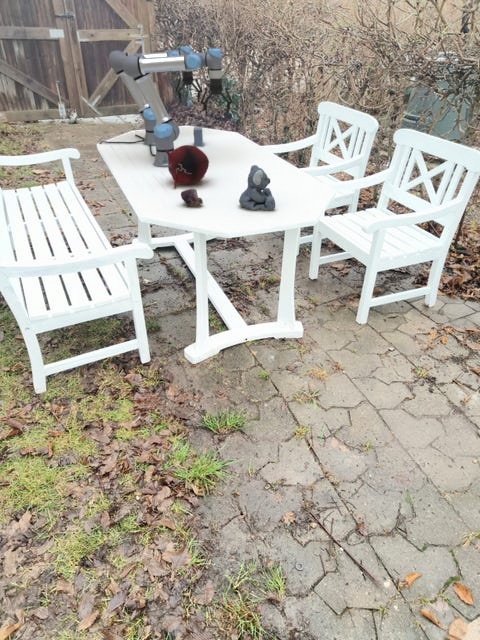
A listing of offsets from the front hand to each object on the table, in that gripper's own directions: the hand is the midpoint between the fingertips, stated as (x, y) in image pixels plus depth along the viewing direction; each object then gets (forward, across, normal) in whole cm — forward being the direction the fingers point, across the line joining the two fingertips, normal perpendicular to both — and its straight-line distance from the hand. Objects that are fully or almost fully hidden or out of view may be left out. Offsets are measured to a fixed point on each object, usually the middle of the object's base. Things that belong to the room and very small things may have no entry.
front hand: (217, 115), depth 287 cm
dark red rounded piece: (+27, +18, +47) cm, 57 cm away
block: (+27, +14, -41) cm, 52 cm away
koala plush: (+27, -19, +89) cm, 95 cm away
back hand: (+2, +21, -68) cm, 71 cm away
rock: (+27, +15, +86) cm, 91 cm away
